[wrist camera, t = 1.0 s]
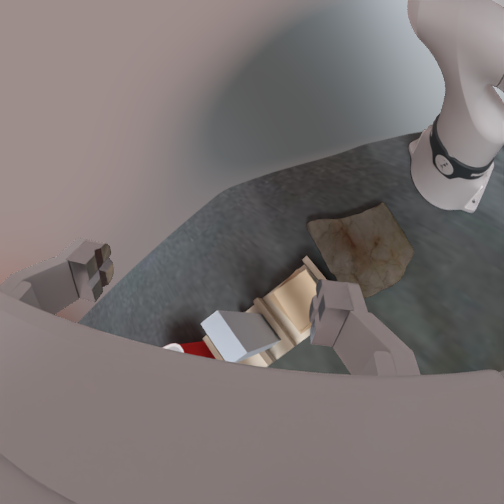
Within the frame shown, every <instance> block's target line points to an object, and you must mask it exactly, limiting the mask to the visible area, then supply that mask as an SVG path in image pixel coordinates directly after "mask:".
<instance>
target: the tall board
mask: <svg viewBox="0 0 504 504" xmlns="http://www.w3.org/2000/svg"><path fill="white" fill-rule="evenodd" d="M201 325H202V327H203V328H204V330H205V332H206V333H207V335H208V336H209V338H210V339H211V341H212V342H213V344H214V345H215V346H216V348H217V349H218V351H219V352H220V354H221V355H222V357H223V358H224V360H225V361H228V362H234V363H237V362H239V361H242V360H244V359H247V358H249V357H251V356H254V355H256V354H258V353H260V352H263V351H265V350H267V349H269V348H271V347H273V346H274V345H275V344H277V343H278V342H279V341H281V338H280V337H279V336H278V334H277V333H276V332H275V330H274V329H273V328H272V326H271V325H270V324H269V322H268V321H267V320H266V318H265V317H264V316H263V314H259V313H245V312H233V311H221V310H217V311H216V312H214V313H213V314H212V315H211V316H209V317H208V318H207V319H206V320H204V321H203V322H202V323H201Z"/></svg>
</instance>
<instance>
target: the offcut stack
mask: <svg viewBox="0 0 504 504" xmlns="http://www.w3.org/2000/svg"><path fill="white" fill-rule="evenodd" d="M316 286H317V283H316V282H315V281H314V279H313V278H312V277H311V276H310V275H309V273H308V272H307V271H306V269H304V270H302V271H300V270H299V269H297V270H296V271H295V272H294V273H293V274H292V275H291V276H290V277H289V278H288V279H287V280H286V281H285V282H284V283H283V284H282V285H281V286H280V287H279V288H278V289H277V290H275V291H274V292H273V294H272V295H271V296H270V297H269V298H270V299H271V300H272V302H273V303H274V304H275V305H276V306H277V307H278V308H279V309H280V310H281V311H282V312H283V313H284V314H285V315H286V316H287V317H288V318H289V320H290V321H291V322H292V323H293V325H294V326H295V327H296V328H297V330H298V331H299V332H300V334H302V333H303V332H305V331H306V330H307V329H309V328H310V327H311V326H312V324H311V323H310V322H309V310H310V304H311V301H312V298H313V297H314V296H315V295H316Z"/></svg>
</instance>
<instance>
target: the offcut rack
mask: <svg viewBox="0 0 504 504" xmlns="http://www.w3.org/2000/svg"><path fill="white" fill-rule="evenodd" d="M302 261H303V263H304V265H303V266H302V267H301V268H299V270H300V271H302V270H304V269H306V271H307V272H308V273H309V275H310V276H311V277H312V278H313V279H314V281H315V282H316V283H318V281H319V279H323V280H327V279H326V278H325V277H324V276H323V275H322V273H321V272H320V271H319V270H318V268H317V267H316V266H315V265H314V264H313V262H312V261H311V260H310V259H309V258H308V256H306V257H304V258H303V259H302ZM288 278H289V277H288ZM288 278H287V279H288ZM287 279H286V280H287ZM286 280H285V281H286ZM285 281H283V282H282V283H281V284H280V285H278V286H277V287H276V288H275V289H273V290H272V291H271V292H270V293H268V294H267V295H266V296H265V297H263V298H258V297H257V298H256V299H255V300H254V301H253V302H254V303H255V305H253V306H252V307H251V308H249V309H248V310H247V311H246V312H245V313H259V314H263V316H264V317H265V318H266V320H267V321H268V322H269V324H270V325H271V326H272V328H273V329H274V330H275V332H276V333H277V334H278V336H279V337H280V338H281V341H279V342H278V343H277V344H275V345H274V346H273V347H271V348H269V349H267V350H265V351H263V352H260V353H258V354H256V355H254V356H251V357H249V358H247V359H244V360H242V361H239V362H237V363H240V364H247V365H253V366H260V367H267V366H268V365H270V364H271V363H273V362H274V361H275V360H277V359H278V358H280V357H281V356H282V355H284V354H285V353H287V352H288V351H289V350H291V349H292V348H293V347H295V346H296V345H297V344H299V343H300V342H301V341H303V340H304V339H305V338H307V337H308V336H309V335H310V329H311V327H310V328H309V329H307V330H306V331H305V332H303V333H302V334H300V332H299V331H298V330H297V328H296V327H295V326H294V325H293V323H292V322H291V321H290V320H289V318H288V317H287V316H286V315H285V314H284V313H283V312H282V311H281V310H280V309H279V308H278V307H277V306H276V305H275V304H274V303H273V302H272V300H271V299H270V298H269V297H270V296H271V295H272V294H273V292H274V291H275V290H277V289H278V288H279V287H280V286H281V285H282V284H283V283H284V282H285ZM202 339H203V340H204V342H205V343H206V345H207V346H208V348H209V349H210V351H211V352H212V354H213V355H214V357H215V358H216V359H217V360H223V361H225V360H224V358H223V357H222V355H221V354H220V352H219V351H218V349H217V348H216V346H215V345H214V344H213V342H212V341H211V339H210V338H209V336H208V335H206V336H205V337H203V338H202Z"/></svg>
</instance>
